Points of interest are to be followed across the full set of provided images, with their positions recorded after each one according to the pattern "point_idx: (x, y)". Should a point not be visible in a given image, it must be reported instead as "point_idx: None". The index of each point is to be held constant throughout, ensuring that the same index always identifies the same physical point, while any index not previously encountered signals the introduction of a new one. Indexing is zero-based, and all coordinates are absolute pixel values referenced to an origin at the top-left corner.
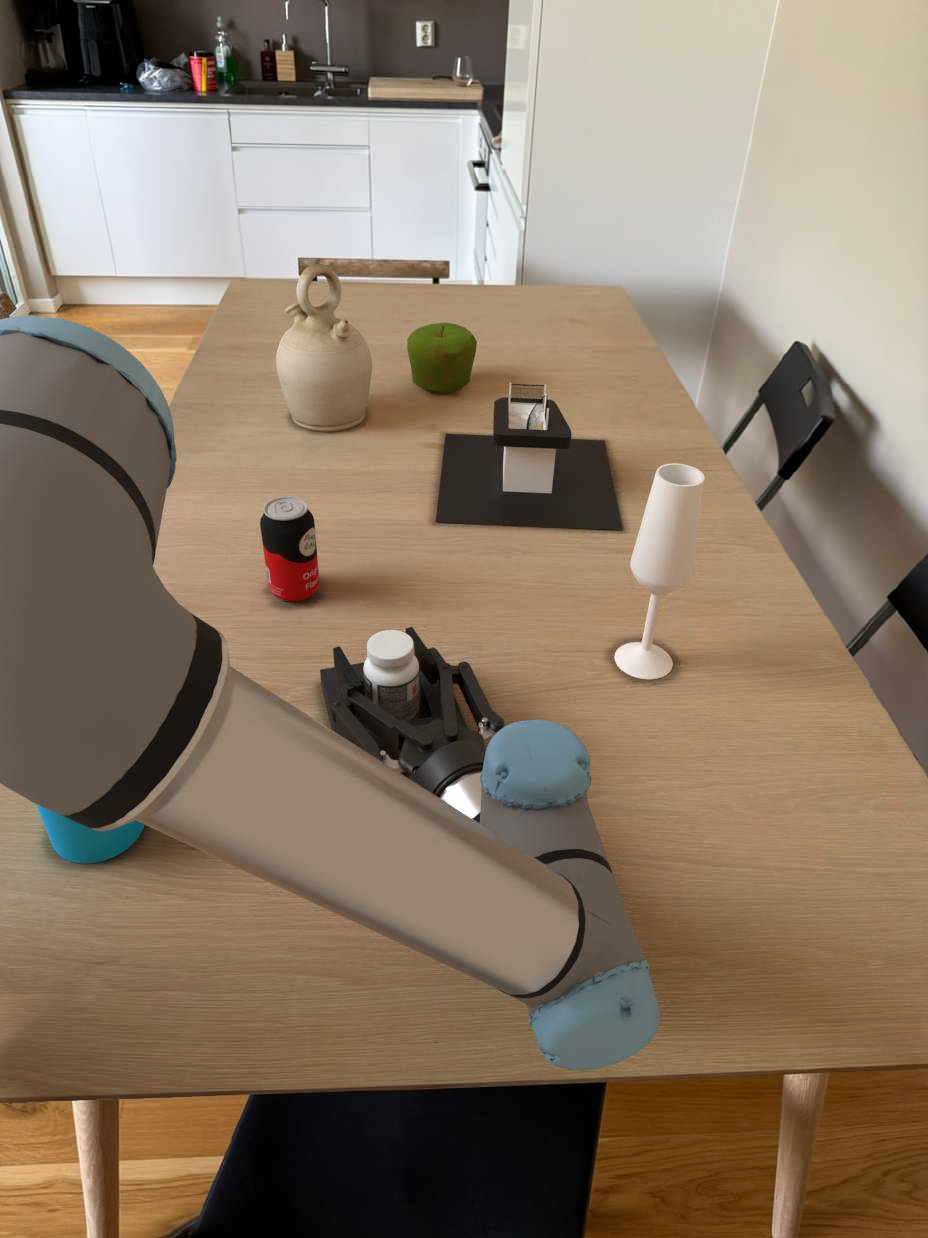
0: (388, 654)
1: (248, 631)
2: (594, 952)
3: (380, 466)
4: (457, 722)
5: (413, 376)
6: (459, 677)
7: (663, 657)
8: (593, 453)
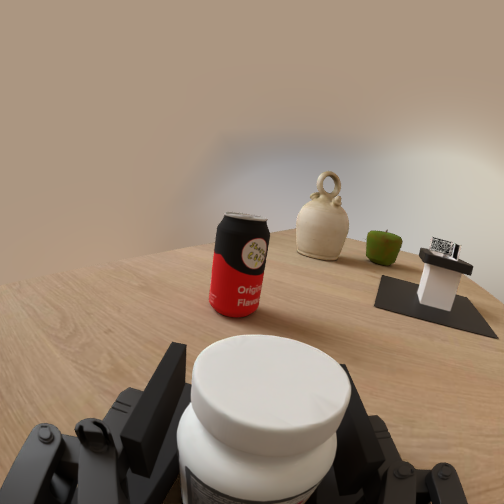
0: (245, 401)
1: (163, 317)
2: None
3: (340, 275)
4: None
5: (367, 252)
6: (419, 499)
7: None
8: (464, 300)
